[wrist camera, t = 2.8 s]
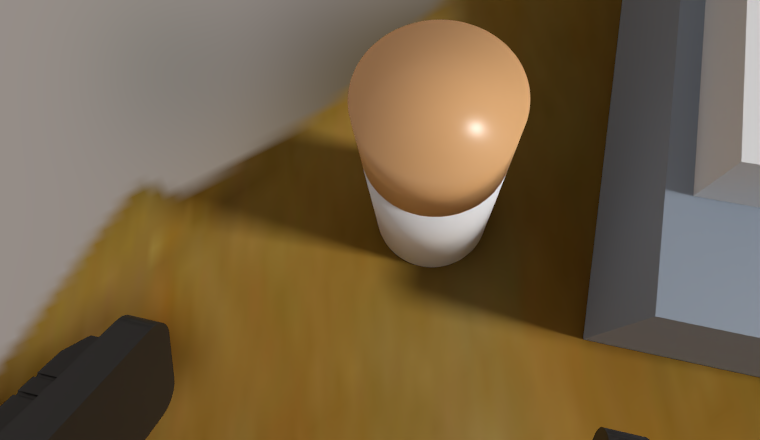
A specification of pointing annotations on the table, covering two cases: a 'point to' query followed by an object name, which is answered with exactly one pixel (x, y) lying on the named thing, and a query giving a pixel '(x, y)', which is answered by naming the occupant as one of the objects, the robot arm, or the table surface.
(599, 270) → the grey box
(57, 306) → the table surface
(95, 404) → the robot arm
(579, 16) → the table surface
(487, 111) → the capped container
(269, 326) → the table surface
